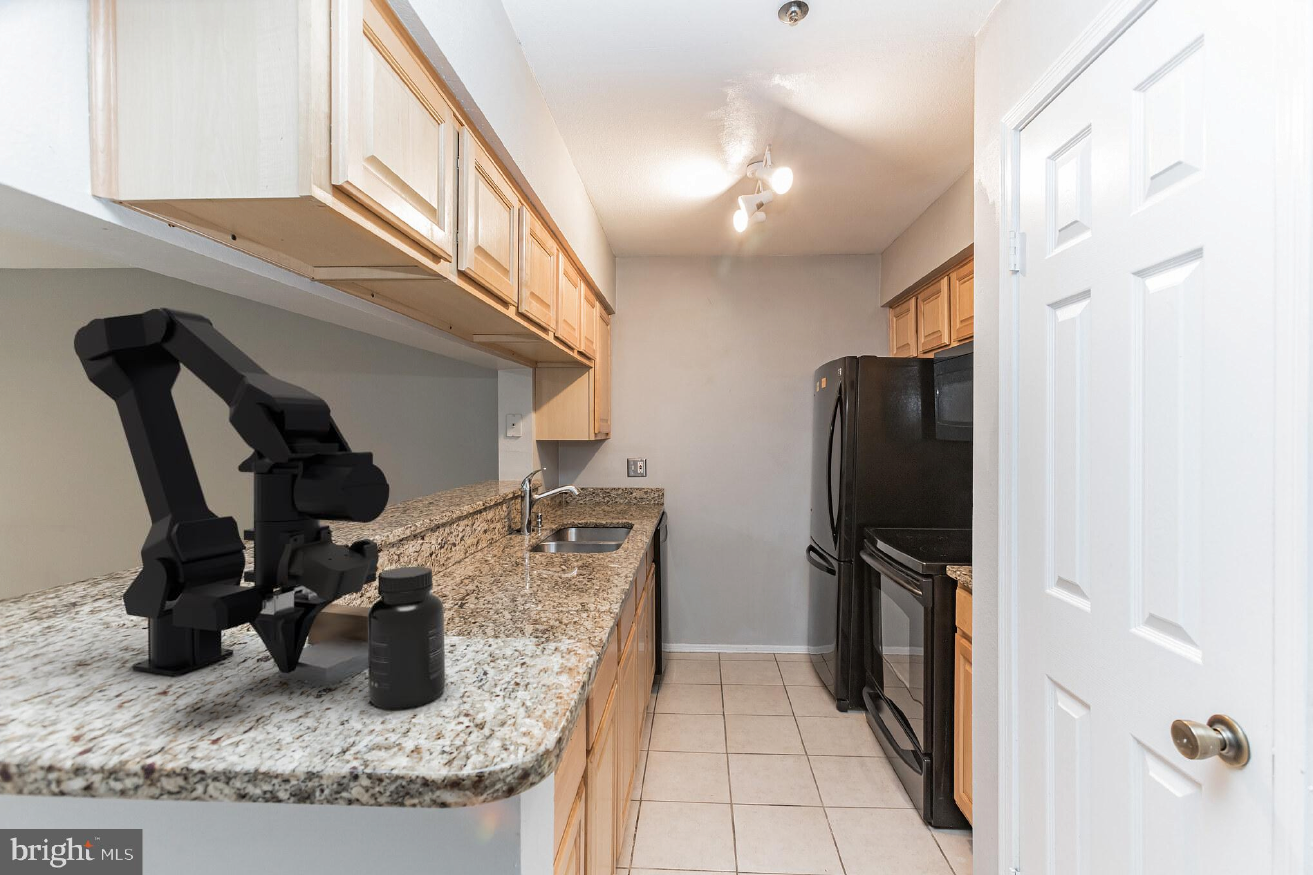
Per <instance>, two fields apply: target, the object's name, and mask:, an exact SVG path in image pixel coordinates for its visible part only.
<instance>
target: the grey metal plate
mask: <svg viewBox="0 0 1313 875" xmlns="http://www.w3.org/2000/svg"><path fill="white" fill-rule="evenodd" d="M366 670H368V642H364V641H359V640H354V639H349V638H344V637H339V636H337V637H334V638H331V639H329V640H326V641H323V642H320V643H317V644H311V645H309V646H307V647H304V648H303V650H302V653H301V656H300V659H299V661H298V664H297V667H296V669H295V670H294V671H292V672H290V673H282V672H280V670H279V669H278V676H280V677H284V678H288V679H291V680H297V681H300V680H301V681H302V682H304V681H307V682H306V683H308V682H310V683H309V684H312V683H315V684H314V685H316V684H317V686H321V685H323V686H322V687H326V688H327V687H329V686H331V684H332V685H334V684H336V683H338V682H341V681H342V680H344V679H348V678H350V677H352V676H354V675H357V674H358V673H361V672H363V671H366ZM333 683H334V684H333ZM328 685H329V686H328Z"/></svg>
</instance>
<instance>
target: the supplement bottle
mask: <svg viewBox="0 0 1313 875" xmlns="http://www.w3.org/2000/svg"><path fill="white" fill-rule="evenodd" d="M377 578H378V589H377V594H378V596H380V598H379V599H378V600H376V601H375V602H374V603H373V604H372V605H371V606H370V610H369V612H368V617H367V626H368V669H367V670H368V696H369V700H370V703H372V704H373V705H374V706H375V707H377V708H379V709H385V710H405V709H410V708H415V707H418V706H422V705H425V704H427V703H429V702H431V701H433V700H435V699H436V698H437V697H439V696H440V695H441V693H442V692H443V691H444V689H445V685H446V681H445V680H446V659H445V658H446V655H445V611H444V608H445V607H444V603H443V601H442V600H441V599H440V598H439V597H438V596H437V595H435V594H433V593H431V591H432V590H433V589H434V583H433V570H432V568H430V567H428V566H427V567H425V566H404V567H403V566H401V567H397V568H391V569H387V570H384V571H382V572H379V574H378V577H377Z"/></svg>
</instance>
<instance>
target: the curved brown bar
mask: <svg viewBox="0 0 1313 875" xmlns="http://www.w3.org/2000/svg"><path fill="white" fill-rule="evenodd" d="M370 608H371V606H370V607H369V606H359V605H349V604H340V603H330V604H329V605H327V606H326V607H325V608H324V609H323V610H322V611H321V612H319V613H318V615H317V616H316V618H315V620H314V622H313V624H312V627H311V629H310V631H309V634H308V636H307V644H308V645H315V644H317V643H320V642H323V641H326V640H329V639H331V638H334V637H337V636H339V637H344V638H349V639H354V640H359V641H364V642H368V626H367V617H368V612H369V610H370Z"/></svg>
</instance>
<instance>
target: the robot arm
mask: <svg viewBox="0 0 1313 875" xmlns="http://www.w3.org/2000/svg"><path fill="white" fill-rule="evenodd" d="M73 347H74V352H75V354H76V356H77V357H78V359H79V361H80V364H81V366H82V368H83V370H84V372H85V375H86V376H87V379H88V380H89V382H90V383H92V384H93V385H94V386H95V387H96V388H98V389H99V390H100V391H101V392H102V393H104V394H105V395H107V396H108V397H109V398H110V399H112V400H113V401H114V404H115V406H116V408H117V412H118V415H119V418H120V422H121V425H122V428H123V431H124V435H125V439H126V441H127V445H128V448H129V451H130V455H131V458H132V461H133V464H134V467H135V471H136V474H137V477H138V480H139V483H140V487H141V490H142V494H143V497H144V500H145V501H144V502H145V504H146V507H147V511H148V514H149V517H150V520H151V527H150V528H149V531H148V534H147V536H146V538H145V540H144V542H143V543H144V544H143V545H142V548H141V551H140V555H141V562H142V569H141V570H140V571H139V573H138V574H137V576H136V577H135V578H134V579H133V581H132V582H131V584H130V585H129V586H128V587H127V588H126V590H125V591H124V593H123V594H122V601H123V604H124V609H125V612H126V615H128V616H132V617H139V618H144V619H145V618H146V619H147V649H148V650H147V659H144V660H141V661H138V662H136V663H133V664H132V670H134V671H140V672H148V673H154V674H160V675H161V674H162V675H167V676H180V675H182V674H185V673H188V672H190V671H193V670H195V669H198V668H201V667H203V666H206V665H208V664H211V663H215V662H218V661H219V660H222V659H224V658H227V657H230V656H232V655H234V649H232V648H223V647H222V646H223V641H222V640H223V639H222V638H223V636H222V633H223V632H222V631H227V630H230V629H234V628H236V627H240V626H242V625H247V624H249V625H250V626H251V627H252V629H253V630H254V631H255V632H256V634H257V635H258V637H259V638H260V640H261V642H262V643H263V645H264V646H265V648H266V650H267V651H268V654H269V655H270V657H271V659H272V660H273V661H274V663H275V665H276V666H277V668H278V671H279V670H280V672H282V673H290V672H292V671H294V670H295V669H296V667H297V664H298V661H299V659H300V656H301V653H302V650H303V648H305V644H306V642H307V640H308V634H309V631H310V629H311V627H312V624H313V622H314V620H315V618H316V616H317V615H318V613H319V612H321V611H322V610H323V609H324V608H325V607H326V606H327V605H329V604H330V603H331V604H333V603H334V602H335V601H338V600H340V599H342V597H344V596H347V595H348V596H349V595H350V594H358V593H361V592H362V591H363V588H364V586H365V585H368V584H370V583H371V584H372V583H374V582H376V581H377V573H378V571H379V567H378V563H379V549H378V543H377V542H376V541H374V540H371V539H369V538H365V539H364V538H363V539H359V540H356V541H353V542H352V543H351V544H350V545H349V544H348V543H346V544H337V543H334V542H333V537H332V536H333V533H332V532H333V531H332V529H330V525H326V524H321V521H329V522H330V521H331V522H333V521H334V522H344V523H346V522H347V523H357V524H358V523H362V524H366V523H368V524H369V523H372V521H375V520H376V519H378V518H379V517H380V516H381V515H382V514H383V512H384V511H385V508H386V507H387V505H388V502H389V499H390V484H389V483H388V481H387V478H386V476H385V474H384V471H383V470H382V469H381V468H380V467H379V466H377V465H375V464H374V454H373V452H372V451H353V450H352V449H351V447H350V446H349V443H348V442H347V440H346V439H345V437H344V435H343V433H342V432H341V430H340V429H339V427H338V425H337V424H336V422H335V420H334V418H333V417H332V415H331V413H332V412H331V410H332V409H331V408H330V407H329V405H328V403H327V402H326V401H325V400H324V399H323V398H322V397H320V396H318V395H317V394H314V393H313V392H311V391H309V390H307V389H306V388H303V387H301V386H298V385H296V384H293V383H290V382H288V381H284V380H281V379H279V378H277V377H275V376H273V375H271V374H270V373H268V372H267V371H266V370H265V369H264V368H262V367H261V366H260V365H259V364H258V363H256V362H255V361H254V360H253V359H252V358H251V357H249V355H248V354H246V353H245V352H244V351H242V350H241V349H240V348H239V347H237V346H236V345H235V344H234V343H233V342H232V341H231V340H229V338H227V337H226V336H225V335H223V334H222V333H221V332H219V330H218V329H216V328H215V327H214V326H213V322H212V321H211V320H210V319H209V318H207V317H206V316H204V315H202V314H200V313H196V312H192V311H185V310H180V309H174V308H169V307H168V308H167V307H159V308H151V309H150V310H147V311H144V312H141V313H135V314H134V313H133V314H126V315H118V316H110V317H109V316H108V317H103V318H94V319H92V320H90V321H89V322H88V323H87V325H83V326H82V327H80V328H79V329H77V332H75V335H74V339H73ZM181 364H182V365H183V366H184V367H185V368H186V369H187V370H188V371H189V372H191V373H192V374H193V375H194V376H195V377H196V378H198V380H199V381H201V382H202V383H203V384H204V385H206V386H207V387H208V388H209V389H210V390H211V391H212V392H213V393H214V394H216V395H217V396H218V397H219V398H220V399H221V400H222V401H223V402H224V403H225V405H226V406H227V407H228V409H229V412H228V421H229V422H228V423H229V424H231V426H232V427H233V429H234V430H235V431H236V433H238V436H240V438H241V439H242V440H243V442H244V443H245V444H246V445H247V446H248V447H249V448H251V449H252V450H253V452H252V453H251V454H250V455H249V456H248V457H247V458H245V459H244V460H243V461H242V462H240V464H239V465H238V466H237V469H238V471H239V472H240V473H249V474H250V473H251V474H252V473H253V527H252V528H248V529H243V539H242V538H241V536H240V532H239V527H238V522H237V521H236V519H235V518H234V517H233V516H231V515H227V516H218V515H217V514H216V513H215V512H213V511H212V510H211V509H210V508H209V506H208V504H207V501H206V498H205V494H204V490H203V489H202V485H201V480H200V479H199V476H198V473H197V470H196V466H195V462H194V459H193V457H192V454H191V450H190V447H189V443H188V441H187V437H186V434H185V432H184V429H183V425H182V421H181V419H180V416H179V412H178V409H177V406H176V403H175V400H174V397H173V393H172V392H173V388H174V386H175V383H176V381H177V380H178V377H179V375H180V373H181V370H182V365H181ZM242 540H243V541H249V542H251V541H252V542H253V569H249V570H245V568H246V564H247V562H246V561H247V559H246V555H245V553H244V551H245V550H247V547H246V544H245V543H244V542H243V541H242ZM242 579H243V582H244V583H245V582H246V583H252V584H254V585H252V586H244V585H241V583H242Z"/></svg>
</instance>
